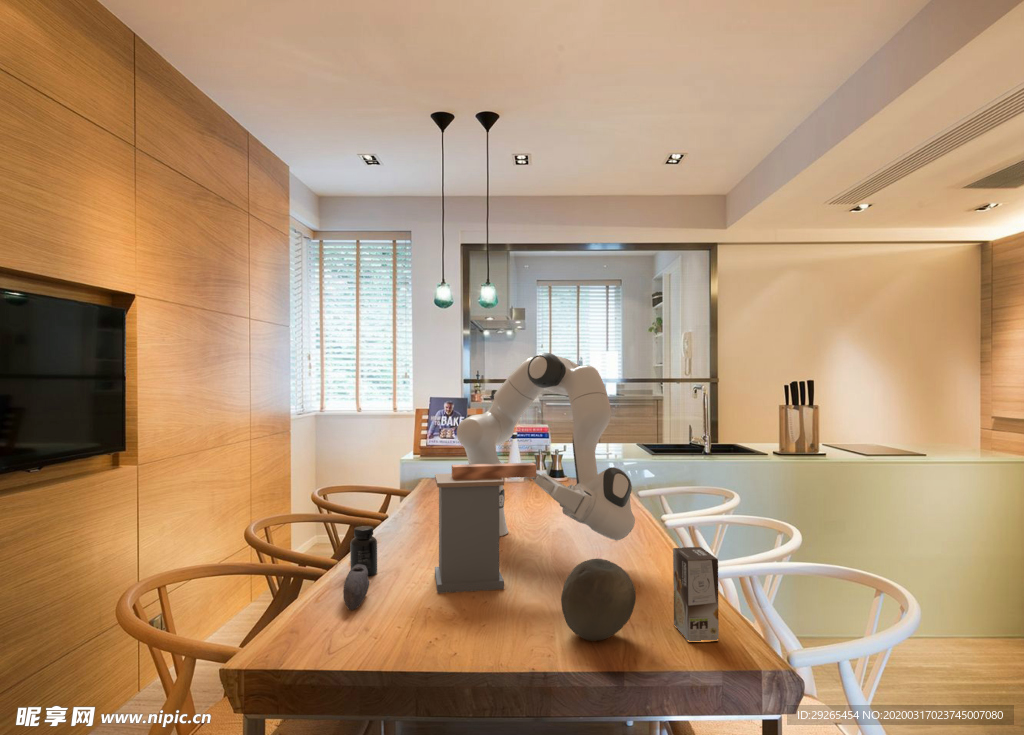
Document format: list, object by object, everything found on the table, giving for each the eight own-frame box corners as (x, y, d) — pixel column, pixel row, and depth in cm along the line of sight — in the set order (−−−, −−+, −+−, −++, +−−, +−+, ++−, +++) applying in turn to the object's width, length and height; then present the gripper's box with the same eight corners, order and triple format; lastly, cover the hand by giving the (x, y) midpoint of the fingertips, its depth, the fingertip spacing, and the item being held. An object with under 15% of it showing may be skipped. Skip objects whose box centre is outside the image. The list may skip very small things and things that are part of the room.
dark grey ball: (588, 659, 113) (588, 576, 114) (548, 631, 126) (548, 556, 126) (649, 644, 120) (649, 565, 120) (605, 618, 132) (605, 547, 133)
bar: (452, 479, 154) (452, 467, 154) (451, 476, 158) (451, 464, 158) (536, 476, 157) (536, 465, 157) (533, 474, 161) (533, 462, 161)
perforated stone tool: (361, 615, 135) (361, 583, 135) (336, 616, 134) (336, 583, 134) (372, 591, 150) (372, 562, 150) (349, 592, 149) (349, 562, 149)
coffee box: (720, 642, 120) (719, 559, 121) (688, 643, 120) (687, 560, 120) (702, 623, 130) (701, 546, 130) (671, 624, 129) (671, 547, 129)
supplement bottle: (382, 571, 164) (382, 525, 165) (368, 579, 158) (368, 532, 158) (359, 568, 167) (359, 523, 167) (344, 576, 160) (345, 529, 160)
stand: (437, 593, 148) (437, 483, 148) (434, 574, 162) (434, 474, 162) (504, 589, 151) (504, 481, 151) (495, 571, 164) (495, 472, 165)
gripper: (572, 483, 172) (529, 459, 170) (594, 498, 152) (546, 470, 150) (561, 503, 171) (518, 479, 169) (581, 521, 151) (533, 494, 149)
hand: (531, 475), depth 159 cm, fingers open, 8 cm apart
